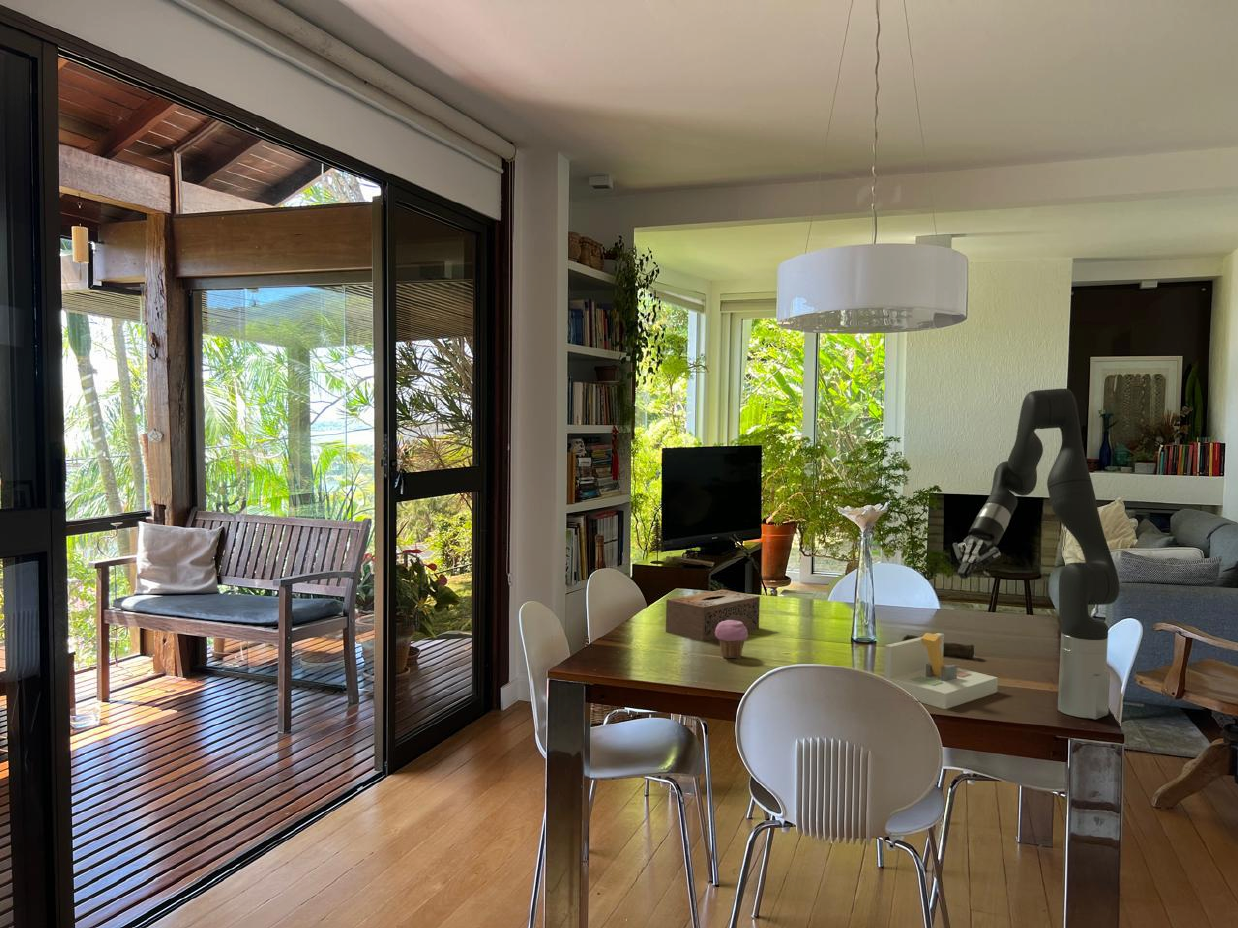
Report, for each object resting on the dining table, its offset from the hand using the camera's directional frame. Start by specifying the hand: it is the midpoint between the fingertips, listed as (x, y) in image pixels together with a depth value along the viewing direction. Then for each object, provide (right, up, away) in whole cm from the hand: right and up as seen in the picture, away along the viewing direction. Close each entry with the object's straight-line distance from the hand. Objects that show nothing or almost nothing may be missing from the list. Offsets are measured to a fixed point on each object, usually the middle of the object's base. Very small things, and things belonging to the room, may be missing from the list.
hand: (962, 576), depth 231 cm
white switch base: (-10, -26, -13) cm, 30 cm away
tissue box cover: (-58, -22, +46) cm, 77 cm away
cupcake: (-56, -23, +15) cm, 63 cm away
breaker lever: (-10, -22, -13) cm, 28 cm away
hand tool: (+1, -24, +22) cm, 33 cm away
